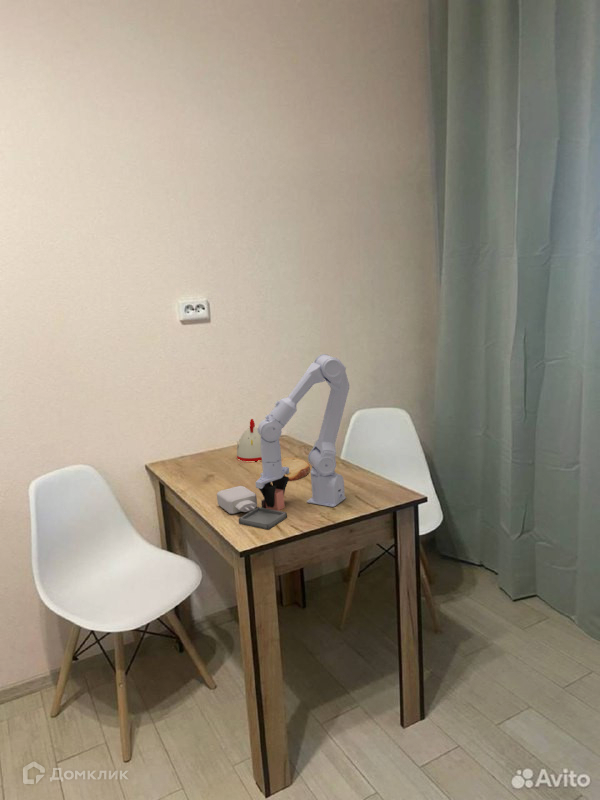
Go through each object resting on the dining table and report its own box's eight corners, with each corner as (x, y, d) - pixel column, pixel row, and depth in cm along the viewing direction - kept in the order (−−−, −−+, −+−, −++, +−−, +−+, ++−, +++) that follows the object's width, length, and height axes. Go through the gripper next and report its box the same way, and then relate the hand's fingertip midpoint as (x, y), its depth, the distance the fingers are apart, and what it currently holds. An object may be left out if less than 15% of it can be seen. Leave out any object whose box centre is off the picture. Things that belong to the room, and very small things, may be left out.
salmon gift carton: (284, 507, 174) (283, 489, 173) (277, 511, 171) (276, 493, 170) (273, 505, 176) (271, 487, 175) (266, 509, 173) (264, 491, 172)
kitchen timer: (234, 463, 220) (231, 424, 217) (239, 452, 234) (236, 416, 231) (271, 461, 219) (268, 422, 216) (274, 450, 233) (271, 414, 230)
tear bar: (274, 503, 177) (273, 494, 177) (262, 510, 172) (262, 500, 172) (271, 502, 178) (270, 493, 177) (259, 509, 173) (258, 500, 173)
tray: (287, 517, 166) (286, 512, 166) (268, 529, 159) (268, 524, 158) (258, 511, 172) (257, 507, 171) (239, 523, 164) (238, 518, 164)
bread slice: (291, 461, 219) (290, 451, 219) (326, 469, 207) (325, 459, 206) (255, 474, 207) (254, 464, 206) (290, 484, 194) (289, 473, 194)
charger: (237, 521, 165) (217, 506, 178) (266, 513, 170) (245, 499, 183) (236, 505, 164) (216, 491, 177) (265, 498, 169) (243, 484, 182)
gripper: (274, 451, 179) (277, 493, 181) (245, 465, 167) (249, 510, 170) (293, 454, 175) (296, 496, 178) (265, 468, 163) (269, 514, 166)
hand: (275, 503), depth 173 cm, fingers open, 4 cm apart
